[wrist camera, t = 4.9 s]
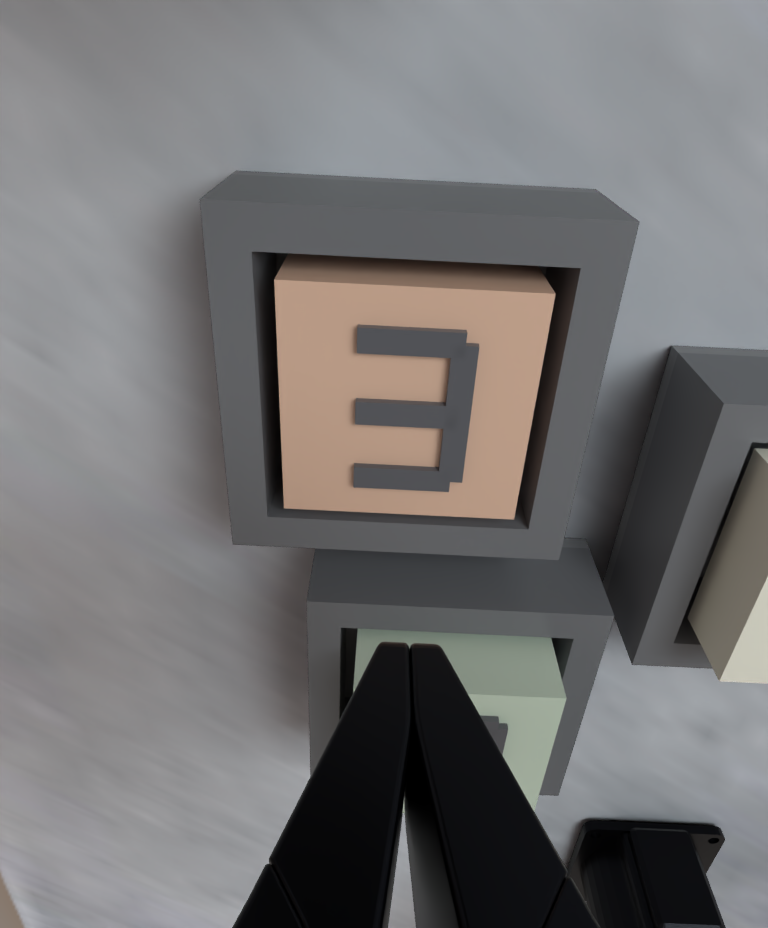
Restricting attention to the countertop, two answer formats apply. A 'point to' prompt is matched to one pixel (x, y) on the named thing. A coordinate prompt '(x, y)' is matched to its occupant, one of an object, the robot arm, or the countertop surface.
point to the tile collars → (548, 452)
